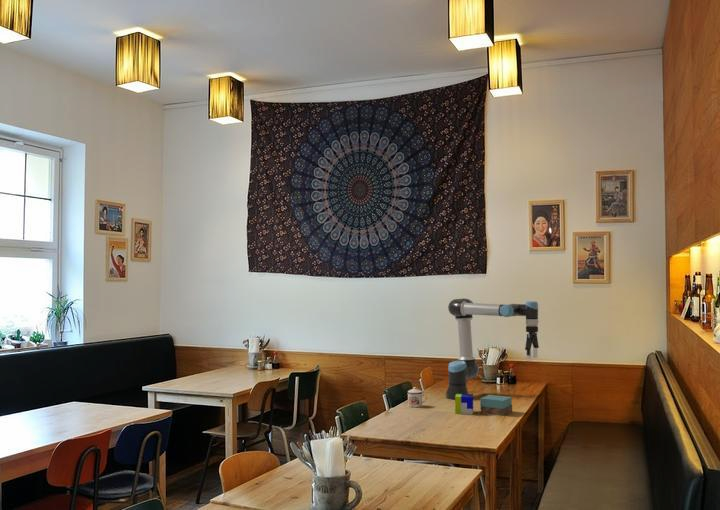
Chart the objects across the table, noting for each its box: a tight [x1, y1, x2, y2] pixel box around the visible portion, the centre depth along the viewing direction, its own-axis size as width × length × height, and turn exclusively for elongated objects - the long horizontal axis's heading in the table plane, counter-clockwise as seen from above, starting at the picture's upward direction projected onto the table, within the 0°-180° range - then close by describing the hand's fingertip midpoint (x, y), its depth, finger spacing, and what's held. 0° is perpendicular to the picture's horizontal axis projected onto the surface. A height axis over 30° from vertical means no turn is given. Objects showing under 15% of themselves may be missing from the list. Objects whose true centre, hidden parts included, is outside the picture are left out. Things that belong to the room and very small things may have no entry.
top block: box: [479, 394, 513, 409], centre depth 388 cm, size 14×14×4 cm
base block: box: [480, 404, 513, 417], centre depth 388 cm, size 14×14×4 cm
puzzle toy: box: [454, 393, 474, 416], centre depth 388 cm, size 10×10×10 cm
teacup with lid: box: [407, 386, 428, 408], centre depth 407 cm, size 12×9×12 cm
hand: (532, 359), depth 419 cm, fingers open, 13 cm apart
